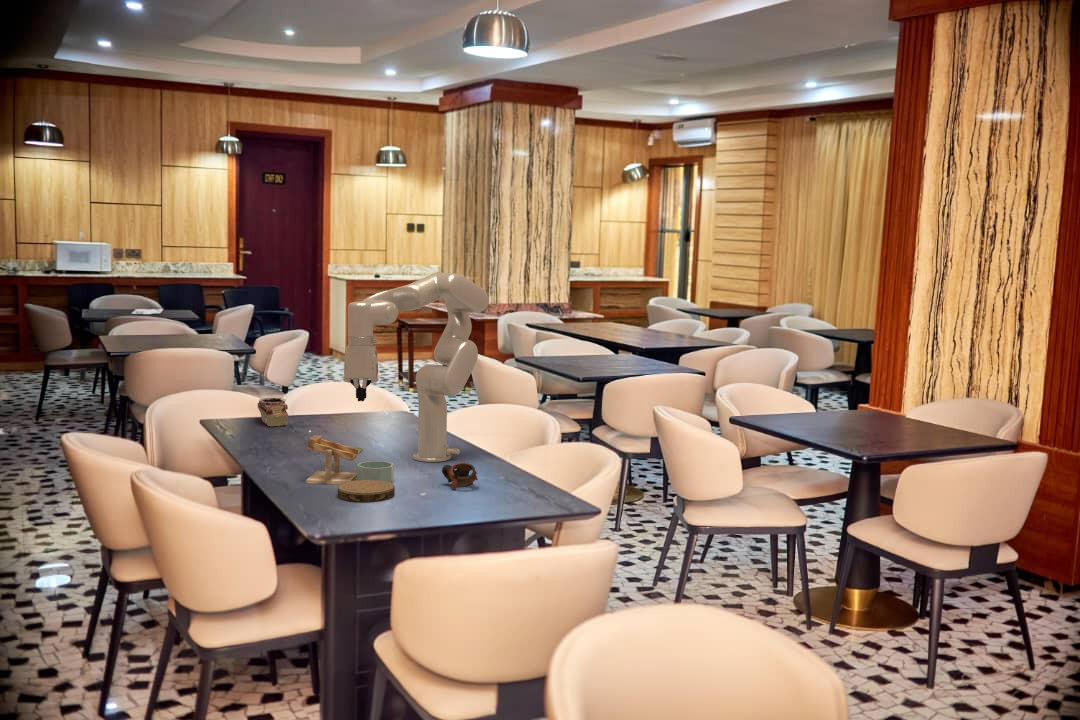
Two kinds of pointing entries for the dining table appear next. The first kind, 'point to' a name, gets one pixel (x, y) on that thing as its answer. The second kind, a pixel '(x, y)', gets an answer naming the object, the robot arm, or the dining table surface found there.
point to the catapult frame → (330, 476)
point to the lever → (333, 448)
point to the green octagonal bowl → (375, 471)
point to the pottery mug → (459, 474)
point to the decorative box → (273, 411)
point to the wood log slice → (366, 491)
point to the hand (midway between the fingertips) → (361, 400)
